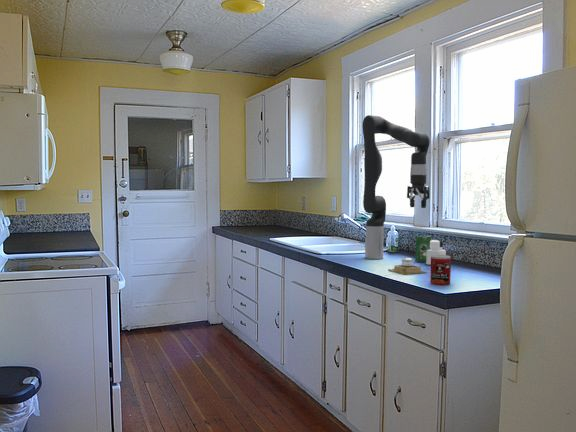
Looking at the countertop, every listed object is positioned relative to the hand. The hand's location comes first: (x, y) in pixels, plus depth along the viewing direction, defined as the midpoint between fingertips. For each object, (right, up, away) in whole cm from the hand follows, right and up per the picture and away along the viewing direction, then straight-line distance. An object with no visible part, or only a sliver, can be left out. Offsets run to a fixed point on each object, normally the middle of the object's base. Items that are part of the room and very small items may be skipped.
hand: (417, 207), depth 256 cm
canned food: (-2, -31, -46) cm, 56 cm away
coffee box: (+6, -28, +13) cm, 31 cm away
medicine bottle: (+10, -28, +4) cm, 30 cm away
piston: (-9, -29, -19) cm, 36 cm away
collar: (-9, -29, -19) cm, 36 cm away
